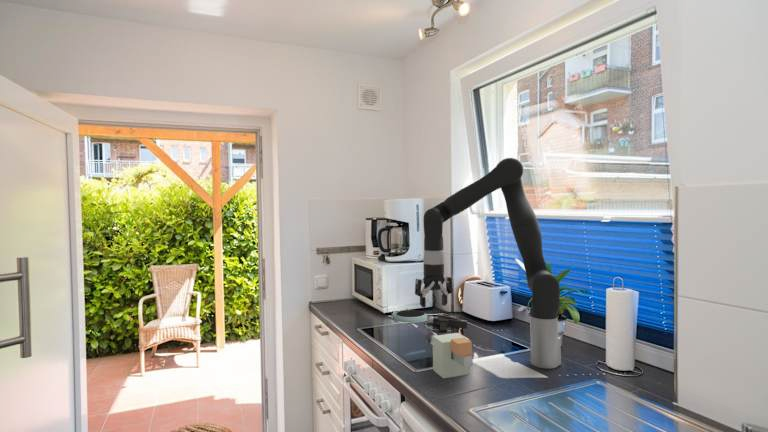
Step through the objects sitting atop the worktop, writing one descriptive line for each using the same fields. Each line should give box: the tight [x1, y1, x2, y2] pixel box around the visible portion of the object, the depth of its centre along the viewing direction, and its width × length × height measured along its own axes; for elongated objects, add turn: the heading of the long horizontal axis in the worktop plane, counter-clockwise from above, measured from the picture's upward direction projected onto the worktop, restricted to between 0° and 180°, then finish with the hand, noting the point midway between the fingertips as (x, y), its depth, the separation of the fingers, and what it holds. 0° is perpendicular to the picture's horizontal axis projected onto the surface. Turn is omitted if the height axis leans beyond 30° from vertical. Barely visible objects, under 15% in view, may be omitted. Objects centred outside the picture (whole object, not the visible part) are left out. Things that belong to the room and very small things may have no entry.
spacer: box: [451, 337, 473, 356], centre depth 141 cm, size 5×5×4 cm
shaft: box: [425, 331, 474, 367], centre depth 150 cm, size 4×28×4 cm, turn 19°
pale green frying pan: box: [391, 309, 429, 324], centre depth 225 cm, size 18×4×25 cm
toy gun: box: [426, 314, 468, 334], centre depth 203 cm, size 5×21×15 cm
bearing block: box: [432, 332, 471, 379], centre depth 148 cm, size 10×8×12 cm
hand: (433, 306), depth 159 cm, fingers open, 8 cm apart
